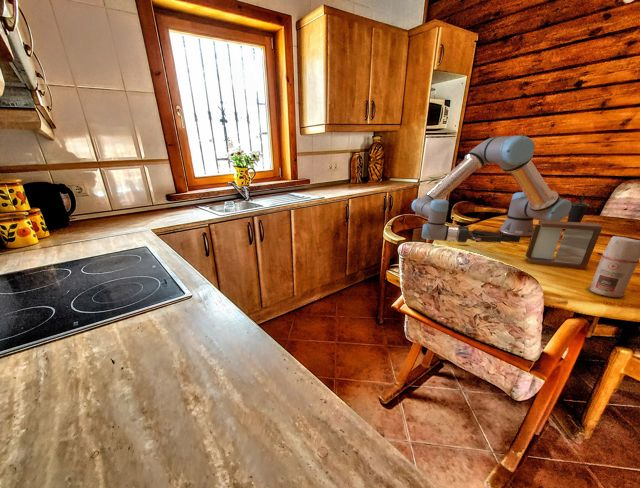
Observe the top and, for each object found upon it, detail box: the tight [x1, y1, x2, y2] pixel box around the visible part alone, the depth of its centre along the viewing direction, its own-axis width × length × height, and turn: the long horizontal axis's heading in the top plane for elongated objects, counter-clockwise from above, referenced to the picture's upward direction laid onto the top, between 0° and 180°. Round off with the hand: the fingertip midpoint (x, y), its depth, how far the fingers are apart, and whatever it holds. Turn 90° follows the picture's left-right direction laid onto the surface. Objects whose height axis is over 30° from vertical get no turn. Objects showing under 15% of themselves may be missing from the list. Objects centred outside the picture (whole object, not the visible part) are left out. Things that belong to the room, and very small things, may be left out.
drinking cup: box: [566, 192, 590, 223], centre depth 158 cm, size 8×8×20 cm
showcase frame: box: [526, 219, 604, 270], centre depth 115 cm, size 5×18×18 cm, turn 64°
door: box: [525, 224, 564, 259], centre depth 118 cm, size 2×9×14 cm, turn 63°
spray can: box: [588, 235, 640, 298], centre depth 92 cm, size 8×8×20 cm
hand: (519, 238), depth 121 cm, fingers closed
